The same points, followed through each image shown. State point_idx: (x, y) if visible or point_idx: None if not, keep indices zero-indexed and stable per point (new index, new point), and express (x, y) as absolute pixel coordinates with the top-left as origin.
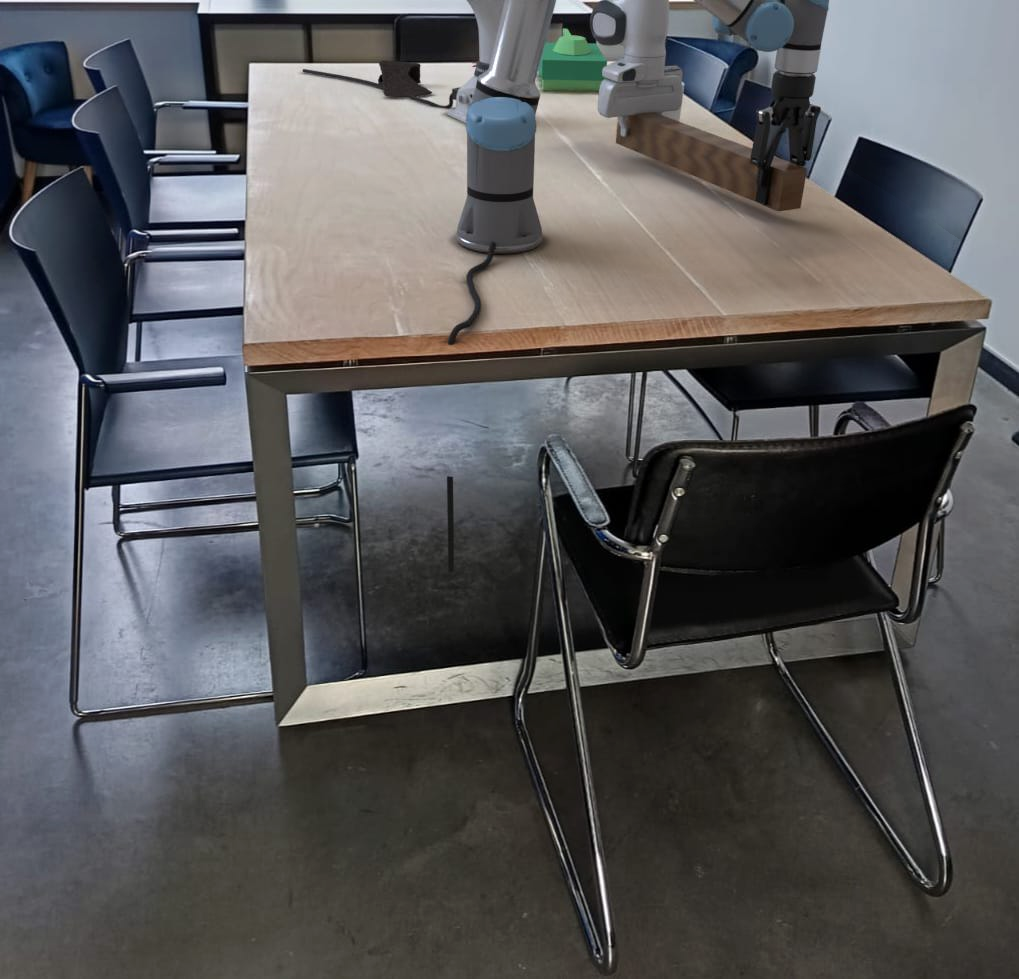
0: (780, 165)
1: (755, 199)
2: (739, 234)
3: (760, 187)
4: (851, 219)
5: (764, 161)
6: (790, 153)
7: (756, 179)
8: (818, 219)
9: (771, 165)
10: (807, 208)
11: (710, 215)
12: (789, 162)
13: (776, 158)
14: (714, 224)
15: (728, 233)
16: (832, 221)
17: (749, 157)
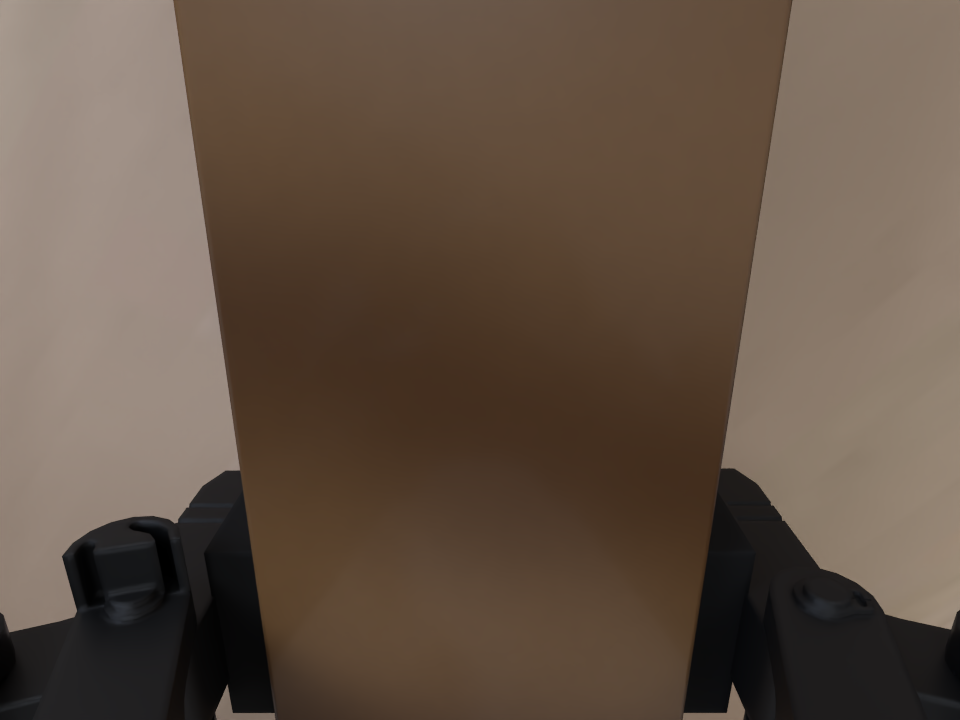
0: (432, 713)
1: None
2: (115, 489)
3: None
4: (945, 559)
5: (339, 487)
6: (781, 707)
7: (189, 506)
8: (769, 480)
9: (305, 674)
10: (917, 272)
11: (112, 78)
12: (672, 656)
13: (673, 418)
14: (46, 271)
15: (57, 449)
16: (811, 540)
17: (228, 171)
